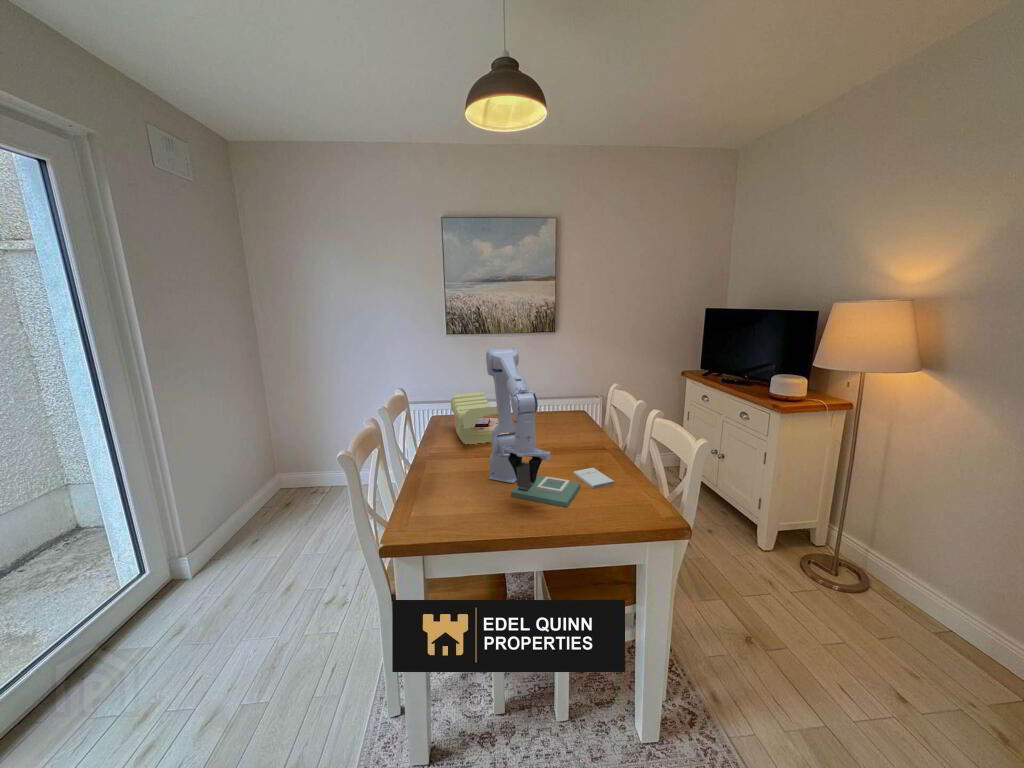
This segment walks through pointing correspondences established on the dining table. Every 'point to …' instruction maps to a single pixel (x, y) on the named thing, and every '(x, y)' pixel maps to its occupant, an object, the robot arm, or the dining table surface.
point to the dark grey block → (524, 475)
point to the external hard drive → (593, 478)
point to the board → (549, 491)
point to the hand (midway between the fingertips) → (526, 479)
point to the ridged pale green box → (471, 416)
